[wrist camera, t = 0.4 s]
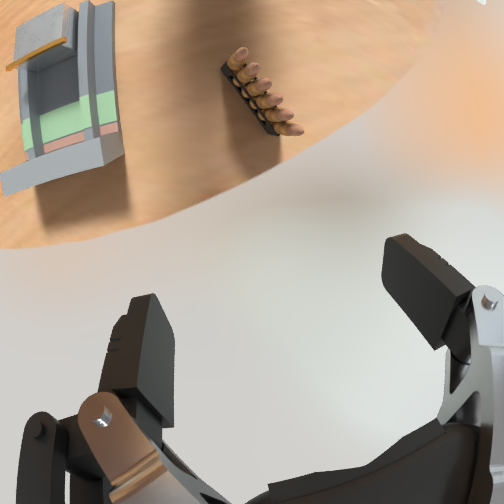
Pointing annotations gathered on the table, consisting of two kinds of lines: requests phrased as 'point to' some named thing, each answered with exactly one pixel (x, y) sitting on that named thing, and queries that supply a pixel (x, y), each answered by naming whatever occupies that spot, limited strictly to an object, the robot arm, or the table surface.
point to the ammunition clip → (259, 104)
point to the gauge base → (70, 108)
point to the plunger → (46, 39)
